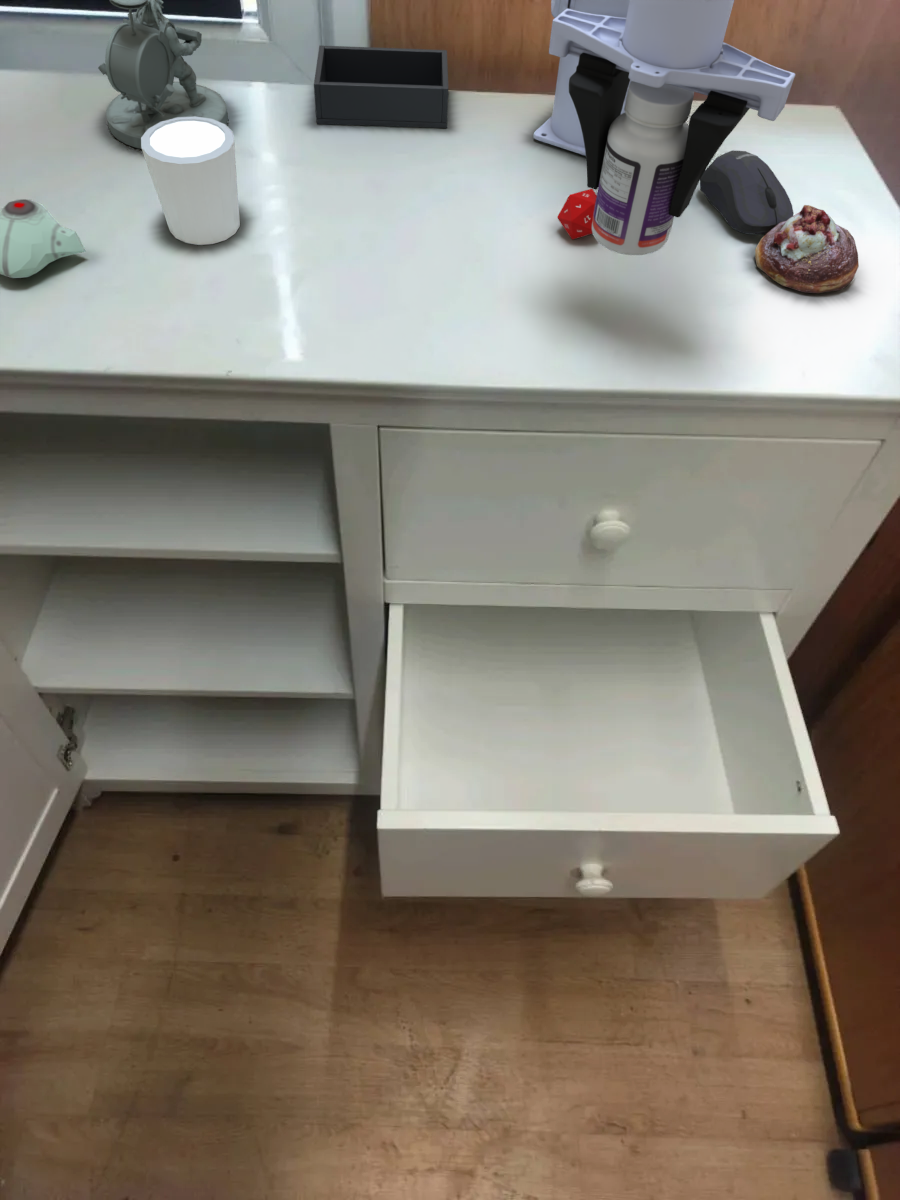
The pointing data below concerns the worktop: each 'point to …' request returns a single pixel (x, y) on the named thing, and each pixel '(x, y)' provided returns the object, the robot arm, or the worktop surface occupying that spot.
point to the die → (578, 213)
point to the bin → (381, 86)
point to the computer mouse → (746, 192)
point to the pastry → (808, 253)
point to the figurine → (153, 73)
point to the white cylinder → (194, 177)
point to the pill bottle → (642, 169)
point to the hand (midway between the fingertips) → (637, 195)
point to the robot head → (32, 239)
